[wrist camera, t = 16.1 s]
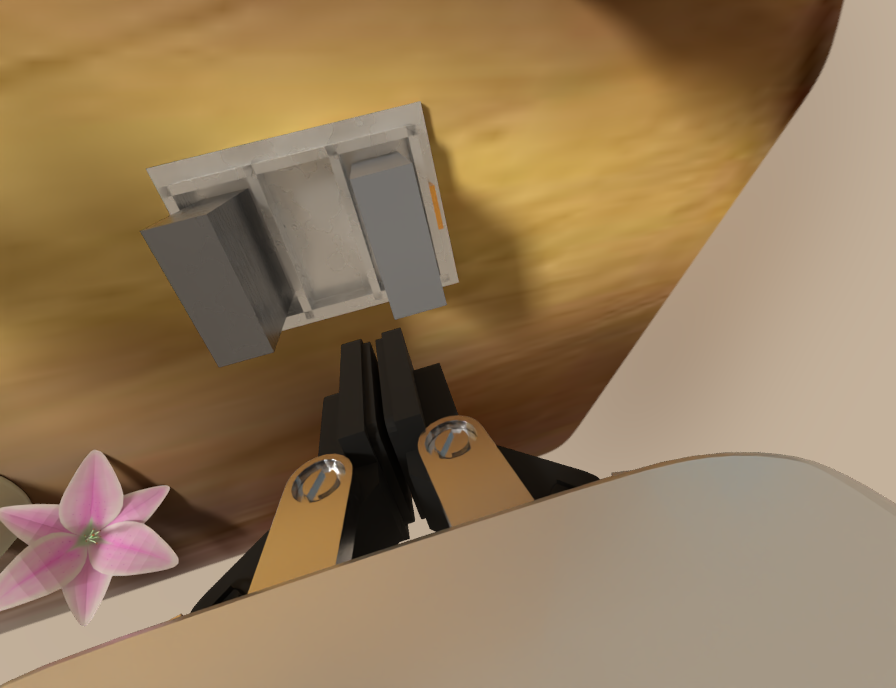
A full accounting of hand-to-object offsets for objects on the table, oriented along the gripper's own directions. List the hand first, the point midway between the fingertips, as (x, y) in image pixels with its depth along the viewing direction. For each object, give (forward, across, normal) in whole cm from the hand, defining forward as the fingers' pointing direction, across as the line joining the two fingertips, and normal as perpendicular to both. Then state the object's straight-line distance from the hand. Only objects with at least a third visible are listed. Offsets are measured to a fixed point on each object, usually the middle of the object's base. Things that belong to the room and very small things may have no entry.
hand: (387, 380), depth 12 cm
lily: (+23, +29, +18) cm, 41 cm away
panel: (+22, -2, 0) cm, 22 cm away
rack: (+22, +3, 0) cm, 23 cm away
